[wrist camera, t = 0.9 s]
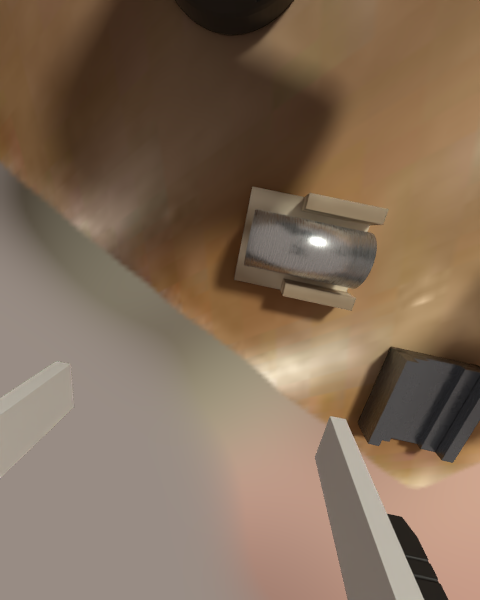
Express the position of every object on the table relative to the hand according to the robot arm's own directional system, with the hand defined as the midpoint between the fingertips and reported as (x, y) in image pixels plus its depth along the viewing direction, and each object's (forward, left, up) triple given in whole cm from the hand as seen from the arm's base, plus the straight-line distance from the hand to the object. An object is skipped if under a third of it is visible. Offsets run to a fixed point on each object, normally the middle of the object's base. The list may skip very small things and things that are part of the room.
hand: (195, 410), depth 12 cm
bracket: (-8, +6, -20) cm, 23 cm away
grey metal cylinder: (-8, +6, -19) cm, 22 cm away
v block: (+8, +27, -20) cm, 35 cm away
